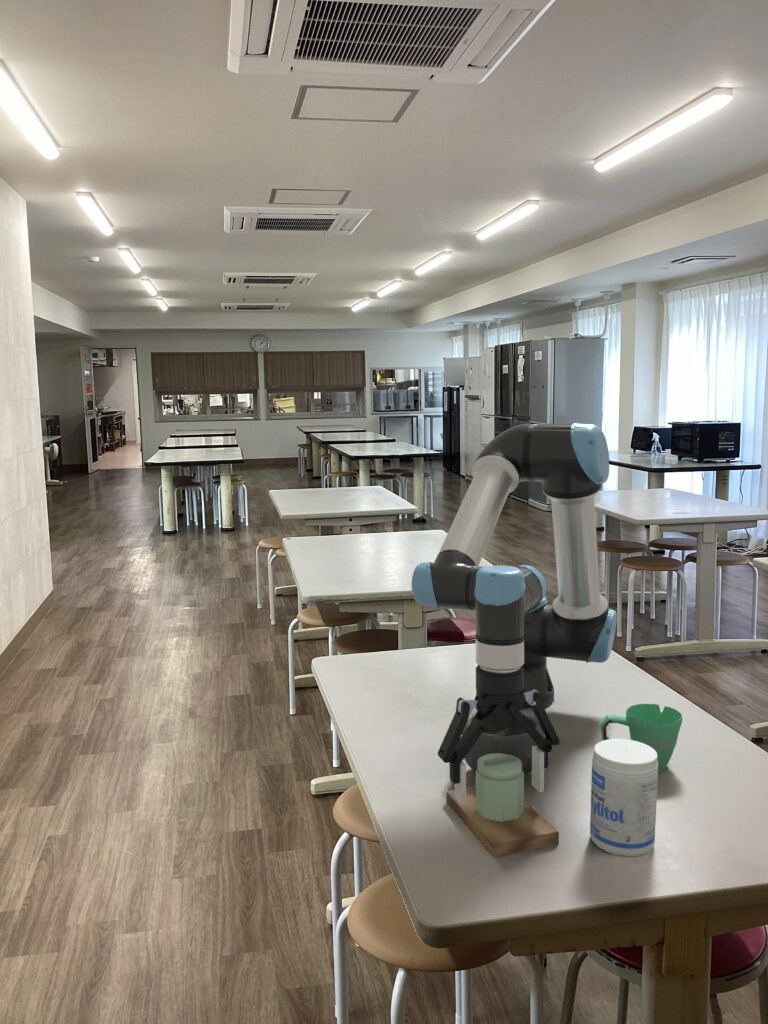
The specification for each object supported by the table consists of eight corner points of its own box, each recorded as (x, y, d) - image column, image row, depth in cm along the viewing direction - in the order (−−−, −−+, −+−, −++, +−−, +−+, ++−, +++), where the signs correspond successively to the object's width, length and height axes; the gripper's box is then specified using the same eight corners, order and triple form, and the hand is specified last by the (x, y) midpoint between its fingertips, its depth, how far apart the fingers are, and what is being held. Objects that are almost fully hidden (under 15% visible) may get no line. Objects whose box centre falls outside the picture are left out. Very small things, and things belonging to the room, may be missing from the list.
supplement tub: (578, 844, 126) (580, 752, 124) (606, 820, 133) (608, 732, 131) (640, 866, 120) (642, 769, 118) (665, 839, 127) (668, 748, 125)
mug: (671, 753, 158) (672, 703, 156) (688, 776, 148) (690, 723, 147) (593, 754, 158) (594, 703, 157) (605, 777, 148) (606, 723, 147)
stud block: (505, 792, 143) (505, 751, 142) (558, 843, 126) (559, 797, 125) (446, 802, 140) (446, 760, 139) (492, 856, 123) (492, 809, 122)
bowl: (446, 767, 154) (446, 715, 153) (515, 752, 160) (515, 702, 158) (487, 801, 140) (487, 744, 139) (560, 784, 146) (561, 729, 145)
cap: (509, 796, 137) (509, 747, 136) (529, 816, 131) (529, 764, 130) (470, 803, 135) (470, 753, 134) (489, 824, 129) (489, 771, 127)
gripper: (558, 650, 137) (557, 772, 140) (416, 667, 130) (418, 796, 132) (582, 663, 130) (580, 792, 133) (434, 682, 122) (435, 818, 125)
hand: (499, 794), depth 132 cm, fingers open, 13 cm apart
